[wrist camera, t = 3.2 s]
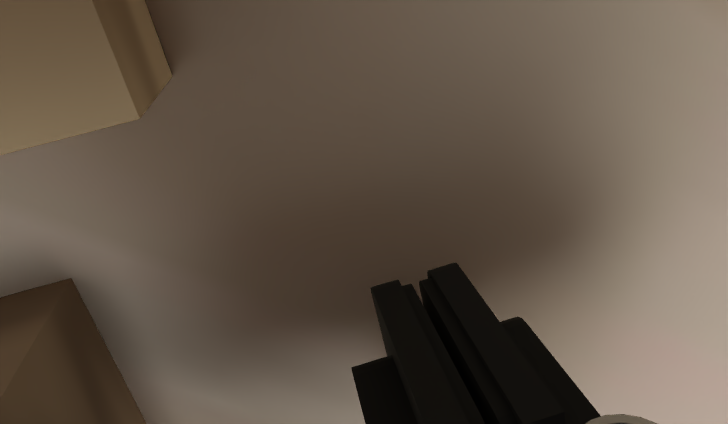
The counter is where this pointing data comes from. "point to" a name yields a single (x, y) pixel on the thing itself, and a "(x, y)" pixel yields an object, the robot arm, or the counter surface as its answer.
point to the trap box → (75, 68)
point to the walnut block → (58, 362)
